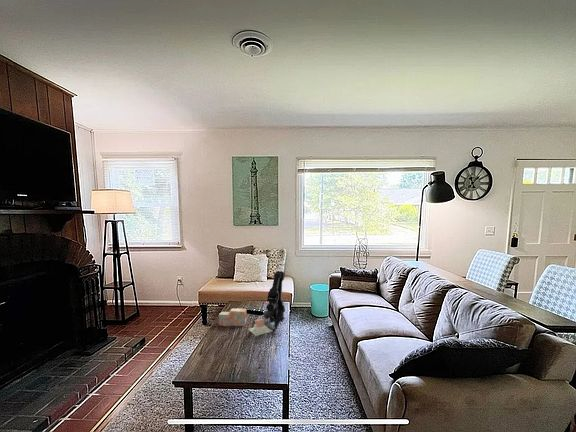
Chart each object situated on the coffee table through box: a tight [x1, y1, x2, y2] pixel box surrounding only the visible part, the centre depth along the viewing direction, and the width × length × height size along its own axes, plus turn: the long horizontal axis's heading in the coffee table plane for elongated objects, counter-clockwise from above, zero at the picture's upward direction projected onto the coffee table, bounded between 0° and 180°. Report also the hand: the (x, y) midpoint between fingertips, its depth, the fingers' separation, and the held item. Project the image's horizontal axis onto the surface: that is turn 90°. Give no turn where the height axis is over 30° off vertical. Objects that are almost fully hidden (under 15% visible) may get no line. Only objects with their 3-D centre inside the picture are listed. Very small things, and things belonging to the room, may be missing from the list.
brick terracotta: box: [255, 318, 265, 327], centre depth 209 cm, size 5×5×4 cm
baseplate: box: [248, 325, 273, 337], centre depth 209 cm, size 14×14×1 cm
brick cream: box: [253, 323, 267, 333], centre depth 209 cm, size 7×7×4 cm
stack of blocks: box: [218, 308, 248, 327], centre depth 221 cm, size 21×6×12 cm, turn 83°
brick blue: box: [269, 322, 279, 330], centre depth 213 cm, size 5×5×4 cm
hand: (274, 326), depth 213 cm, fingers open, 5 cm apart
